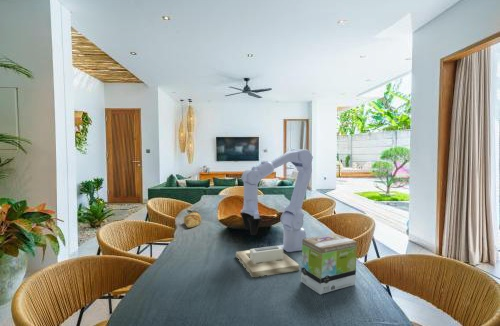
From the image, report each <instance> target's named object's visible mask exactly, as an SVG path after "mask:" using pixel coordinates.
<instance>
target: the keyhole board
mask: <svg viewBox="0 0 500 326" xmlns="http://www.w3.org/2000/svg"><path fill="white" fill-rule="evenodd" d="M235 257H236V259H237V258H238V259H239V260H238V259H237V260H238V261H239V262H240V264H241V263H242V264H243V265H242V264H241V265H242V266H243V268H244V269H245V268H246V269H245V270H246V271H247V273H248V272H249V273H250V274H249V273H248V274H249V275H250V276H251V278H252V277H255V278H260V277H259V276H261V277H265V276H264V275H267V276H272V275H278V274H279V275H280V274H284V273H292V272H299V271H300V264H299V263H298V262H296V261H295V260H294V259H293V258H291V257H289V256H288V255H287V254H285V253H284V252H283V259H281V260H280V261H276V260H274V261H267V262H261V263H259V264H256V263H253V262H252V261H251V260H250V258H249V257H250V249H247V250H241V251H235Z"/></svg>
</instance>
